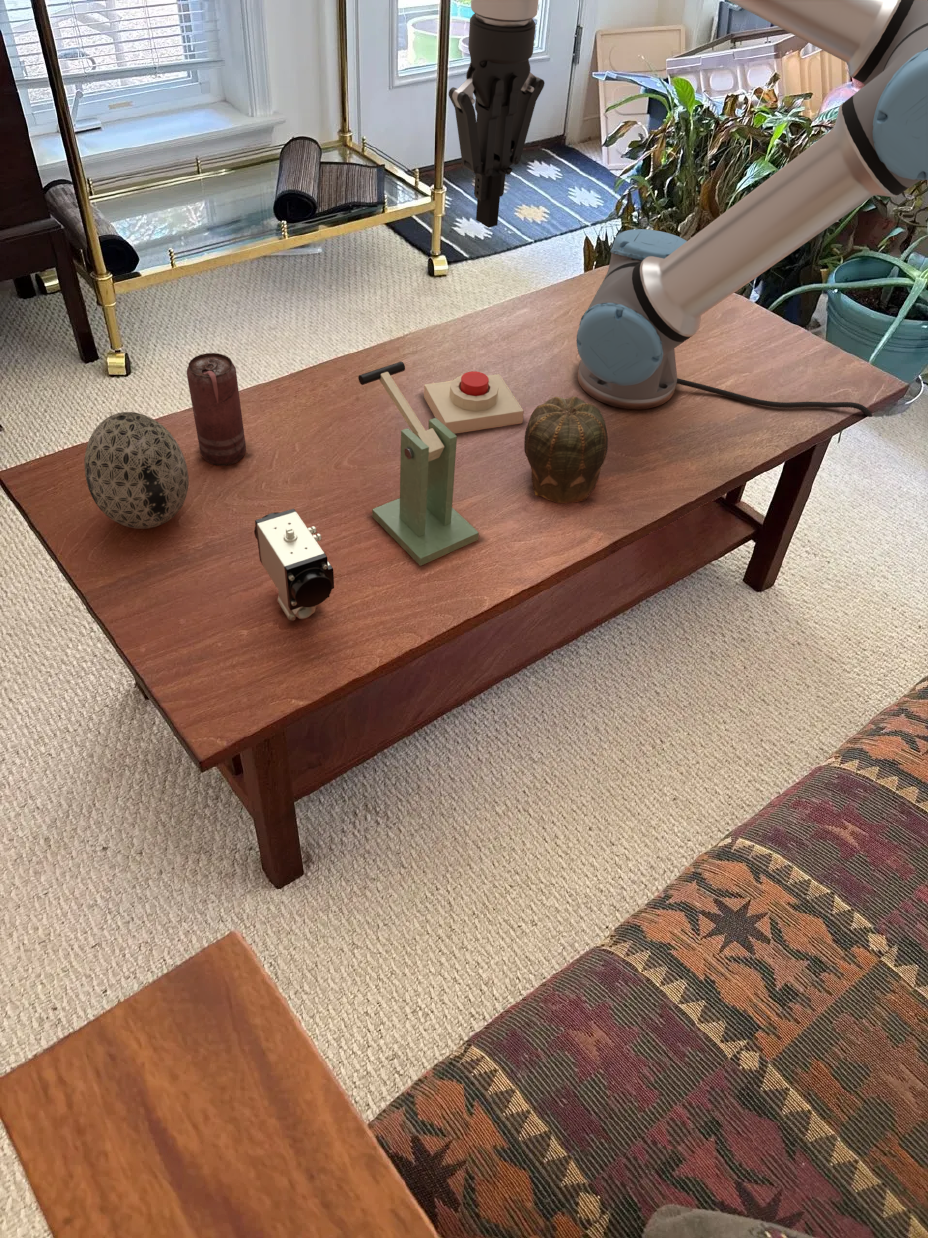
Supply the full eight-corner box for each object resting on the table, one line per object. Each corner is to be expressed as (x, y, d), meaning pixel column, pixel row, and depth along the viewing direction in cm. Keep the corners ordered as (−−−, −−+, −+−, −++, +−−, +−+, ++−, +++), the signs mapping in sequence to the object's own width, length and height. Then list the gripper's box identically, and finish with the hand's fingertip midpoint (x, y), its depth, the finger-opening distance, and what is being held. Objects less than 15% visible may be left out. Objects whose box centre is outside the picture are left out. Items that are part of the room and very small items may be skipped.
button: (482, 379, 140) (483, 369, 138) (491, 394, 137) (492, 384, 136) (456, 383, 139) (457, 372, 137) (465, 398, 136) (466, 388, 135)
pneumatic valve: (298, 647, 107) (291, 570, 98) (259, 582, 113) (248, 504, 105) (343, 631, 109) (340, 554, 100) (301, 568, 115) (295, 490, 107)
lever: (356, 382, 114) (360, 369, 112) (397, 368, 117) (402, 356, 115) (410, 468, 112) (416, 457, 110) (452, 452, 114) (457, 441, 112)
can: (209, 472, 127) (194, 382, 117) (195, 446, 130) (179, 356, 120) (253, 461, 129) (242, 372, 119) (238, 436, 133) (226, 346, 122)
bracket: (372, 516, 123) (371, 421, 112) (429, 493, 127) (433, 398, 116) (420, 566, 117) (424, 470, 106) (478, 540, 121) (487, 445, 110)
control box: (498, 386, 145) (500, 363, 142) (522, 423, 139) (525, 400, 136) (423, 396, 142) (424, 373, 139) (444, 435, 136) (446, 411, 133)
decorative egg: (124, 562, 114) (97, 462, 103) (83, 510, 120) (54, 410, 109) (212, 526, 120) (195, 427, 109) (169, 477, 125) (149, 379, 115)
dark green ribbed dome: (572, 450, 135) (585, 377, 126) (613, 496, 129) (630, 422, 120) (505, 468, 131) (514, 394, 123) (544, 516, 125) (556, 441, 116)
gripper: (527, 0, 112) (507, 201, 129) (437, 13, 106) (429, 221, 123) (568, 18, 108) (542, 223, 125) (477, 32, 102) (463, 245, 119)
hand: (486, 222), depth 124 cm, fingers closed
